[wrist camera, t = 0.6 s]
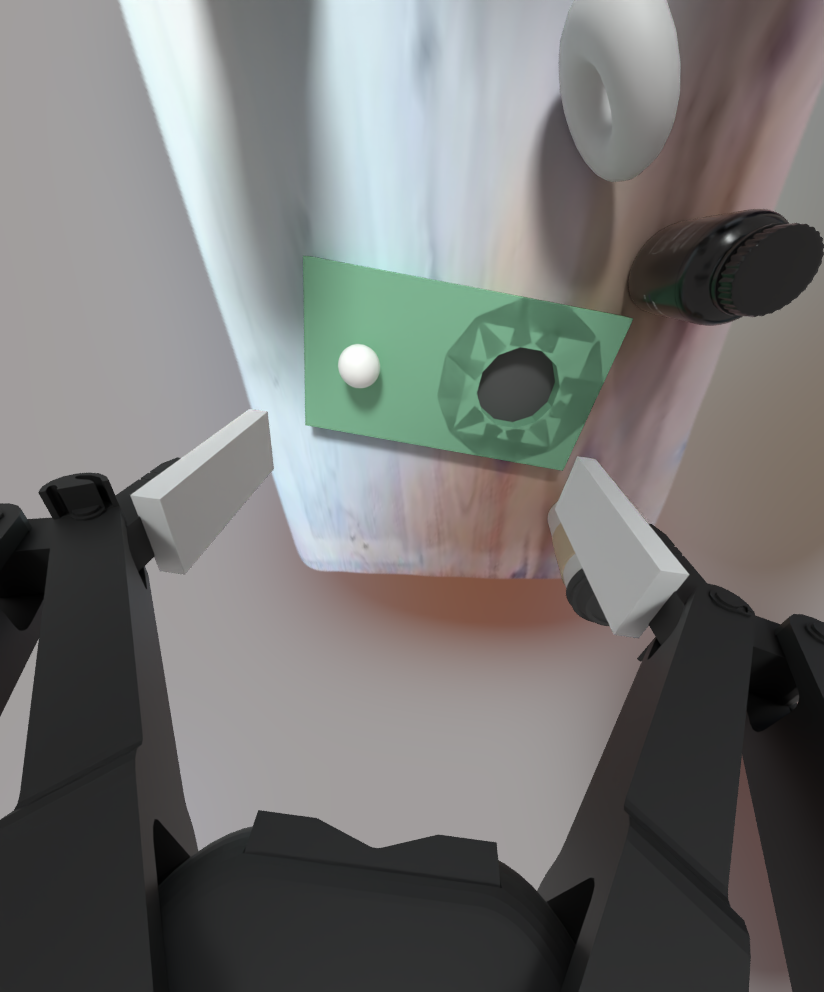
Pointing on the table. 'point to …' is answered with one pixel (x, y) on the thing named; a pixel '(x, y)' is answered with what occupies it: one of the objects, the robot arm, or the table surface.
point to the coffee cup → (574, 574)
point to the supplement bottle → (725, 267)
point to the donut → (619, 82)
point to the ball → (359, 366)
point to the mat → (454, 363)
